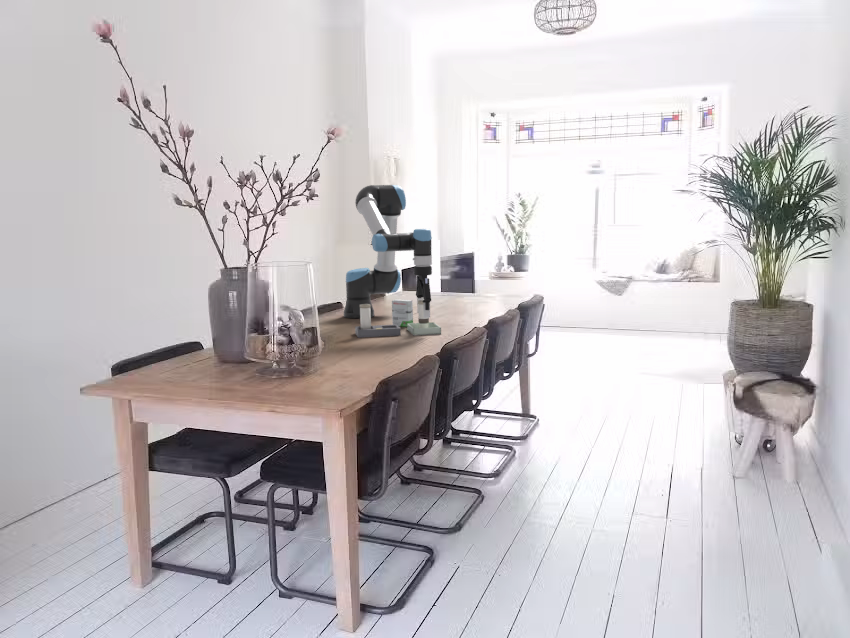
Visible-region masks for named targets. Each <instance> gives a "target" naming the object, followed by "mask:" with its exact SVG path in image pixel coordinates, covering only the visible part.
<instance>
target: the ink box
mask: <svg viewBox="0 0 850 638" xmlns="http://www.w3.org/2000/svg"><path fill="white" fill-rule="evenodd" d="M391 316H392V317H391V321H392V325H395V324H397V325H398V326H399V327H400V328H401V327H405V328H407V324H408V323H414V309H413V300H411V299H399V298H398V299H397V298H396V299H392V300H391Z"/></svg>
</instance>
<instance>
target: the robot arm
mask: <svg viewBox="0 0 850 638" xmlns="http://www.w3.org/2000/svg"><path fill="white" fill-rule="evenodd" d="M406 199H407V198H406V194H405V191H404V189H403V188H402V186H400V185H397V184H380V185H378V184H377V185H375V184H370V185H367V186H364V187H363V188H361V189H360V191H358V193H357V194H356V198H355V202H354V203H355V207H356V210H357V212H358V213H359V214H361V215H362V218H364V221H365V222H366V225H367V226H368V229H369V230H370V232H371V234H372V238H371V246H372V249H373V251H375V252H377V257H376V259H377V261H376V264H374V265H373V270H371V269H370V268H368V267H362V268H354V269H350V270H349V271H347V272H346V274H345V284H346V285H345V286H346V287H345V289H346V292H345V293H346V294H345V295H346V303H345V307H344V309H343V317H344V318H346V319H347V318H348V319H360V304H371V307H370V309H371V318H372V317H374V316H375V310H374V307H373V304H372V300H371V295H379V294H382V295H383V294H393V293H396V292H397V291H398V290H399V289H400V287H401V281H402V278H401V276H402V275H401V271H400V270H399V269H398V267H397V265H396V264H395V263H396V261H395V260H396V252H397V251H398V252H405V251H406V252H407V251H409V252H411V251H413V258H412V261H413V265H414V267H413V274H414V276H416V287H415V288H416V289H415V296H416V305H417V306H416V308H417V309H416V311H417V312H416V313H417V314H418V301H419V300H423V301H422V302H423V311H424V318H429V319H431V302H432V297H431V295H432V293H431V287H430V278H428V276H432V273H433V269H432V268H433V267H432V266H431V265H432V264H433V262H432V261H433V260H432V258H433V257H432V238H433V237H432V231H431V229H430V228H416V229H413V230H412V231H413V232H404V233H397V231H398V229H397V228H398V226H397V225H398V219H399V217H400V216H401V214H402V211H403V210H405V209H406V206H407V200H406Z"/></svg>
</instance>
